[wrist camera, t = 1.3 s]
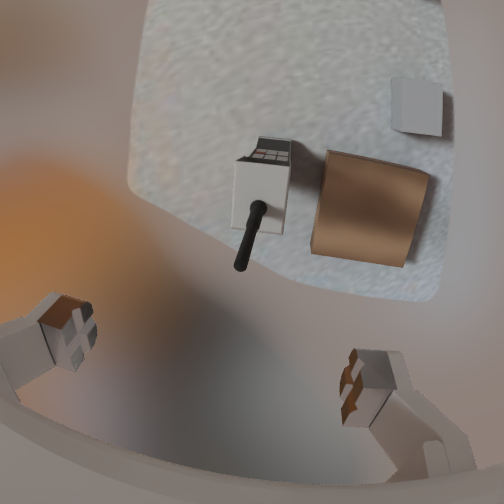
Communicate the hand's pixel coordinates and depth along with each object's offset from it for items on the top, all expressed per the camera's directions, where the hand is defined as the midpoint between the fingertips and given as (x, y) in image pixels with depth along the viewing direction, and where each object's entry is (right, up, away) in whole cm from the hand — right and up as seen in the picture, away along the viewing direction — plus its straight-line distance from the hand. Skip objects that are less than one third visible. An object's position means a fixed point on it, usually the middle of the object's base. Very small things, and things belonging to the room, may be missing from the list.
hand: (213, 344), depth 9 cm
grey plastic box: (+20, +20, +22) cm, 36 cm away
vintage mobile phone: (+4, +14, +27) cm, 31 cm away
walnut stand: (+15, +8, +28) cm, 33 cm away
